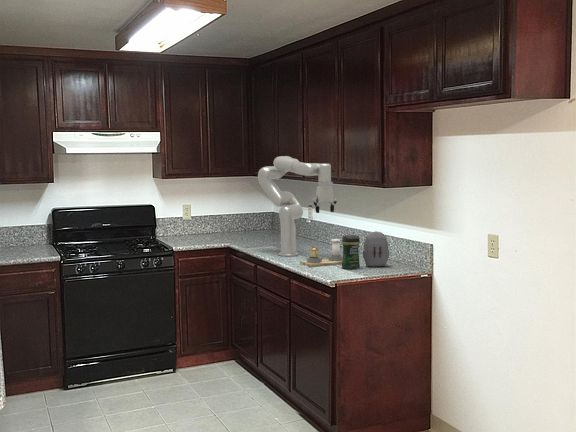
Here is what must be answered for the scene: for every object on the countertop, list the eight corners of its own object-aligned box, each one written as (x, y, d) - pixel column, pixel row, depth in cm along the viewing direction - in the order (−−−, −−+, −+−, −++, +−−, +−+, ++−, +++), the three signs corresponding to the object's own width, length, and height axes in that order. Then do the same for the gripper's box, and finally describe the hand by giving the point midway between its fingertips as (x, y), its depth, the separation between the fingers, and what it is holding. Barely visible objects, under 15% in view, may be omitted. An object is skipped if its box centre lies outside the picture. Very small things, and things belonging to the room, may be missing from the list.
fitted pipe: (326, 259, 381) (326, 239, 380) (338, 258, 384) (338, 238, 383) (332, 261, 374) (332, 240, 372) (345, 260, 377) (345, 239, 376)
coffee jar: (346, 270, 355) (345, 236, 353) (340, 267, 362) (339, 234, 361) (361, 268, 358) (361, 235, 357) (355, 266, 366) (355, 233, 364)
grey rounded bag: (388, 265, 369) (388, 230, 367) (390, 267, 360) (390, 232, 359) (361, 265, 368) (361, 230, 366) (363, 268, 360) (363, 232, 358)
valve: (308, 261, 375) (308, 246, 374) (316, 261, 377) (316, 246, 376) (312, 263, 369) (312, 248, 369) (320, 262, 371) (320, 247, 371)
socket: (305, 261, 375) (305, 257, 375) (317, 260, 379) (317, 256, 378) (311, 263, 368) (310, 259, 368) (323, 262, 371) (323, 258, 371)
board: (299, 263, 378) (299, 261, 377) (336, 260, 387) (336, 257, 387) (310, 267, 365) (310, 264, 365) (347, 263, 374) (347, 261, 374)
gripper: (334, 183, 397) (334, 211, 398) (309, 184, 390) (309, 212, 391) (340, 183, 390) (340, 212, 391) (314, 184, 383) (314, 213, 385)
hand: (324, 212), depth 391 cm, fingers open, 9 cm apart
